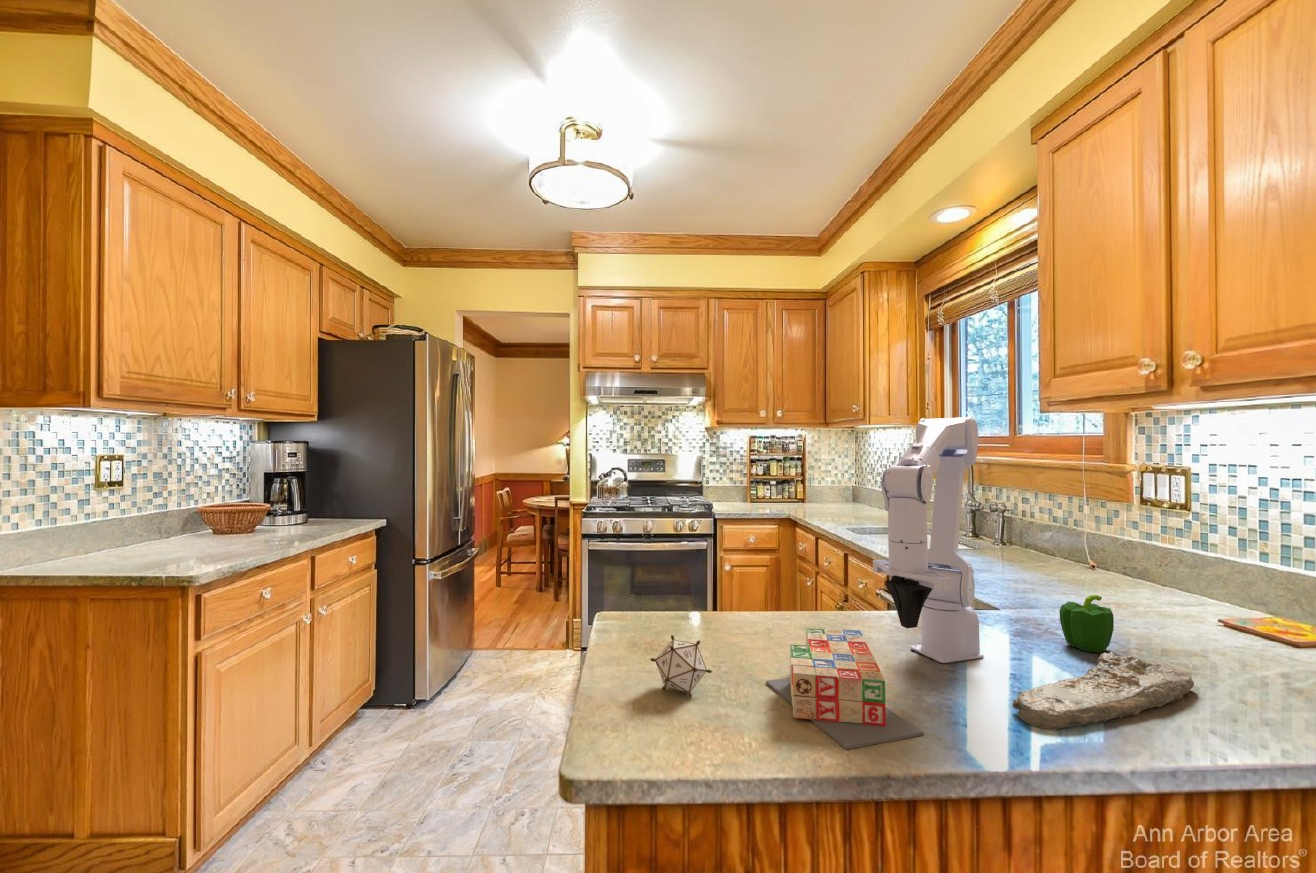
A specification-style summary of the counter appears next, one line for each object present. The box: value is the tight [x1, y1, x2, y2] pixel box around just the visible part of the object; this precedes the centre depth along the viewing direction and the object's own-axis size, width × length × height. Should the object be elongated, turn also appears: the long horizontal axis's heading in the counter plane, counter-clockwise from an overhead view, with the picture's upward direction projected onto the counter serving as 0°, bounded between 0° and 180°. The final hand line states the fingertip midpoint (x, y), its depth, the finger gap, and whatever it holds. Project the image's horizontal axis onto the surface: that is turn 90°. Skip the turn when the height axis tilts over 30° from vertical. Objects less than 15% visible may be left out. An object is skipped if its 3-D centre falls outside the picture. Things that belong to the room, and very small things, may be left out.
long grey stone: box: [1012, 651, 1195, 731], centre depth 83 cm, size 35×5×10 cm
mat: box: [765, 677, 925, 751], centre depth 82 cm, size 12×21×1 cm, turn 17°
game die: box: [649, 634, 713, 699], centre depth 88 cm, size 9×8×10 cm
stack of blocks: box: [789, 627, 887, 726], centre depth 87 cm, size 21×6×12 cm
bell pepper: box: [1059, 594, 1115, 653], centre depth 105 cm, size 8×8×10 cm
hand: (909, 626), depth 89 cm, fingers closed
